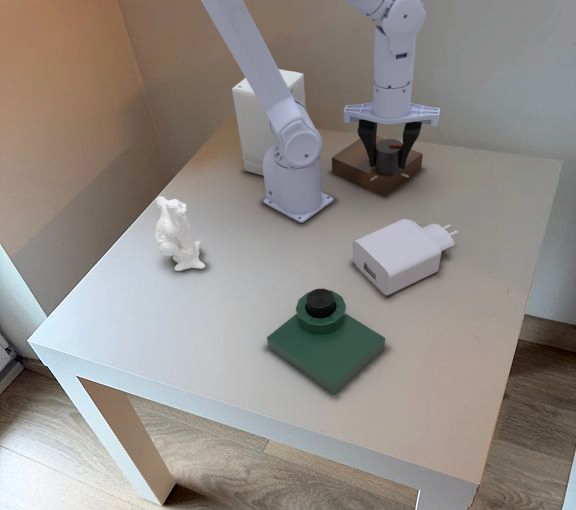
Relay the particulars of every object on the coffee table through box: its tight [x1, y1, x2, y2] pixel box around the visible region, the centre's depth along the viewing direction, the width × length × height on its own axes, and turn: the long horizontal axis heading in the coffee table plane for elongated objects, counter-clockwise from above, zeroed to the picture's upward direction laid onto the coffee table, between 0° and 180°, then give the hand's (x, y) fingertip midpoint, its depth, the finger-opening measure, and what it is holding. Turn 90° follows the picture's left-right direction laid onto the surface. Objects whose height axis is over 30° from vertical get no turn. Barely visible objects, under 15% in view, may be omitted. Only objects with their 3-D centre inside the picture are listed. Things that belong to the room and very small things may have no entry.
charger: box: [352, 218, 459, 296], centre depth 79 cm, size 5×9×15 cm
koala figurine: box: [154, 195, 206, 272], centre depth 81 cm, size 8×7×12 cm
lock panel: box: [331, 135, 424, 198], centre depth 93 cm, size 14×11×3 cm
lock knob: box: [375, 138, 403, 176], centre depth 89 cm, size 4×4×4 cm
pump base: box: [266, 289, 386, 395], centre depth 71 cm, size 12×11×4 cm
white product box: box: [231, 68, 306, 177], centre depth 94 cm, size 9×9×15 cm
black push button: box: [306, 287, 334, 319], centre depth 71 cm, size 4×4×2 cm
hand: (388, 164), depth 90 cm, fingers closed on lock knob, 4 cm apart
